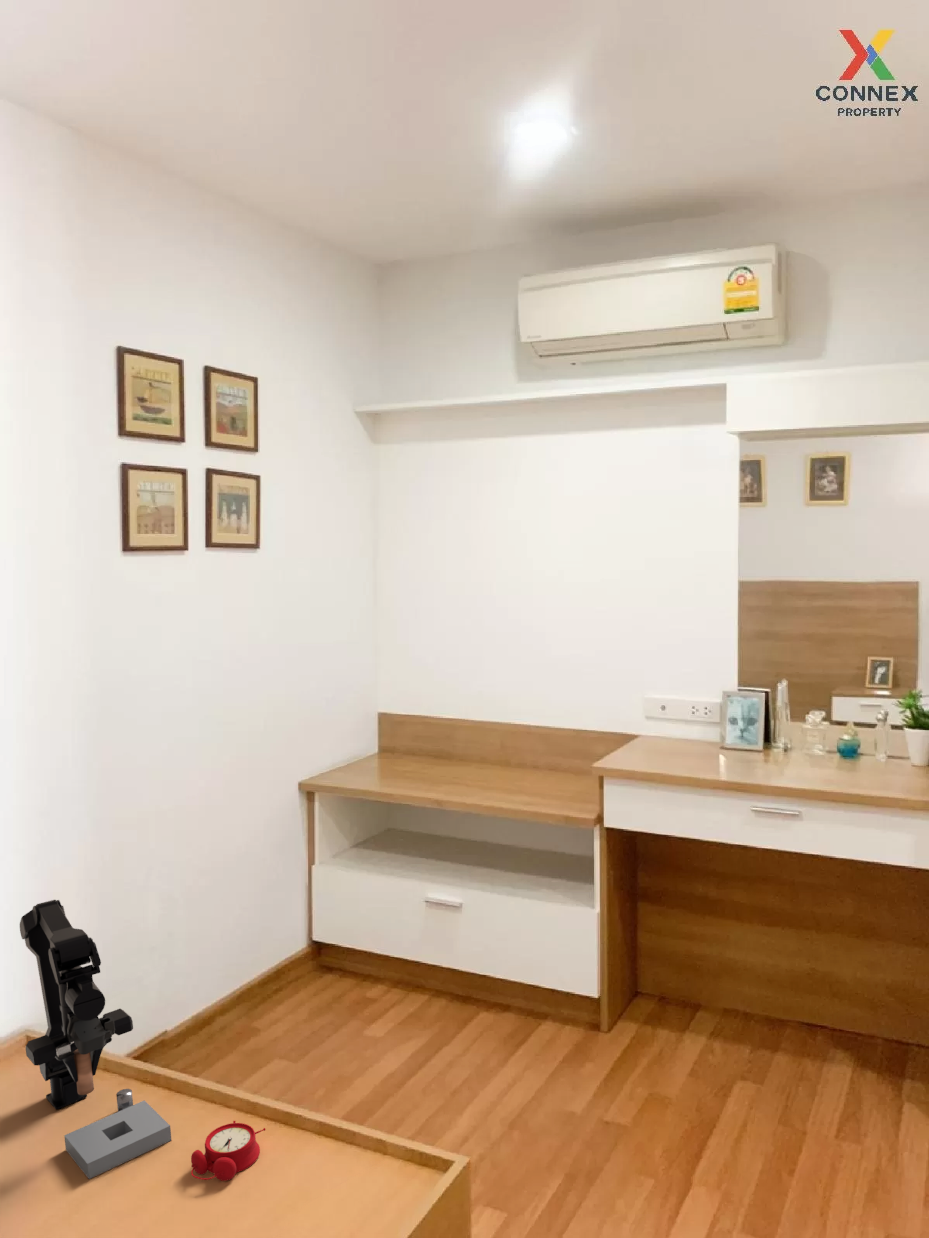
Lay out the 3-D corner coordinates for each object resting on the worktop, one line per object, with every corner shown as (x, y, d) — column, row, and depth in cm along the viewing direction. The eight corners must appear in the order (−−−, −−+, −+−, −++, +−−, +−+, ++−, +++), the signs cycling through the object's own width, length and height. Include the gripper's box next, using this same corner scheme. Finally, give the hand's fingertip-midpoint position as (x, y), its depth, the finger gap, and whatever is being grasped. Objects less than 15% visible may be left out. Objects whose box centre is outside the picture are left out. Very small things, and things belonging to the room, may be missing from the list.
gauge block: (65, 1149, 193) (64, 1135, 193) (145, 1113, 204) (144, 1100, 203) (89, 1178, 184) (87, 1163, 184) (171, 1139, 194) (170, 1125, 194)
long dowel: (75, 1090, 195) (71, 1051, 194) (90, 1084, 197) (86, 1045, 196) (80, 1096, 193) (76, 1056, 192) (96, 1090, 194) (92, 1050, 194)
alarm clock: (273, 1125, 192) (223, 1155, 178) (271, 1159, 191) (221, 1192, 177) (228, 1114, 196) (177, 1142, 182) (226, 1148, 195) (174, 1179, 182)
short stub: (115, 1111, 205) (114, 1092, 205) (130, 1105, 207) (128, 1086, 207) (121, 1117, 203) (119, 1098, 202) (135, 1111, 205) (134, 1092, 204)
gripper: (39, 1033, 181) (48, 1115, 182) (140, 997, 193) (147, 1074, 194) (20, 1012, 189) (29, 1091, 191) (118, 979, 201) (126, 1053, 203)
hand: (84, 1077), depth 194 cm, fingers closed on long dowel, 3 cm apart
